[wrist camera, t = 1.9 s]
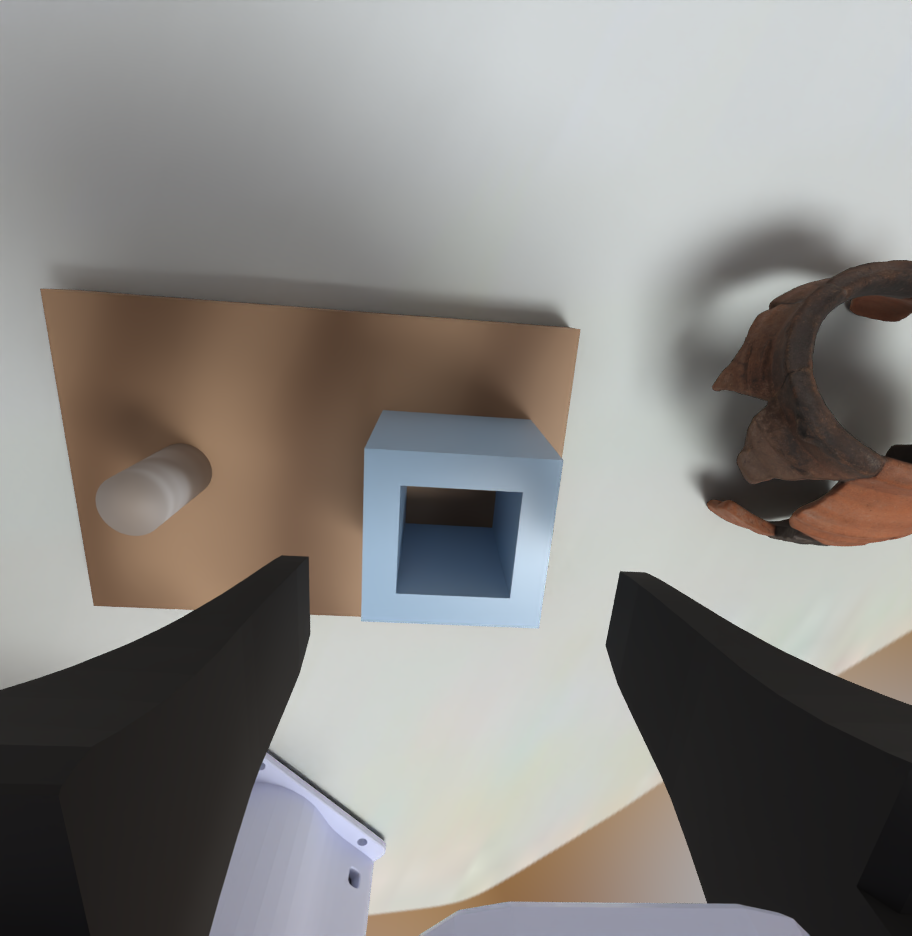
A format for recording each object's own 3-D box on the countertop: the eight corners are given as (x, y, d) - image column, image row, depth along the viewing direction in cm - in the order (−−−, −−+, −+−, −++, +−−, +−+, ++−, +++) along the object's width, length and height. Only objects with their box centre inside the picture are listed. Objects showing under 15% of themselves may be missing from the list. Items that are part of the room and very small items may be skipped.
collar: (530, 419, 19) (563, 459, 14) (514, 551, 20) (538, 628, 16) (382, 410, 18) (364, 448, 14) (378, 545, 20) (361, 621, 15)
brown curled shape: (630, 503, 22) (721, 459, 14) (696, 318, 24) (809, 185, 16) (913, 614, 21) (1192, 637, 13) (960, 410, 23) (1232, 316, 14)
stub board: (569, 327, 19) (613, 335, 14) (531, 603, 23) (556, 683, 18) (71, 289, 18) (-58, 285, 13) (116, 585, 22) (27, 665, 17)
